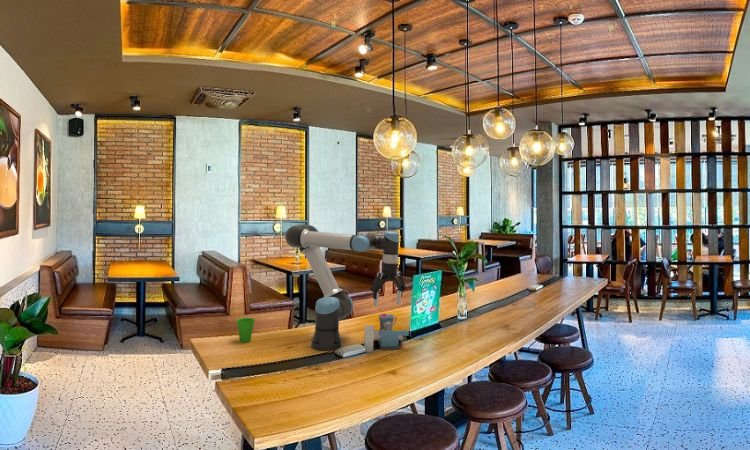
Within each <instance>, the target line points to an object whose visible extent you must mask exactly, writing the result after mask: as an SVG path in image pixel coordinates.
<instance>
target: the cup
mask: <svg viewBox="0 0 750 450" xmlns="http://www.w3.org/2000/svg"><path fill="white" fill-rule="evenodd" d="M255 321H256V319H255V318H254V317H242V318H241V317H239V318H237V319H236V324H237V331H238V337H239V342H240V343H242V344H246V343H250V342H251V340H252V335H253V329H254V323H255Z"/></svg>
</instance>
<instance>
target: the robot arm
mask: <svg viewBox="0 0 750 450" xmlns="http://www.w3.org/2000/svg"><path fill="white" fill-rule="evenodd" d="M284 238H285V241H286V243H287V245H288V246H290V247H291V248H295V249H296V248H297V249H298V250H299V251H300V253H301V254H302V255H304V256H305V258H306V259H307V262H308V264H309V266H310V268H311V270H312V273H313V275H314V276H315V278H316V281H317V283H318V285H319V287H320V289H321V291H322V294H323V297H321V298H319V299H317V301H316V302H315V307H314V308H315V309H314V310H315V315H314V316H315V321H314V324H315V326H314V333H313V336H312V338H311V343H310V345H311V346H310V347H311V348H313V349H315V350H319V351H333V350H334V351H335V350H338V349H337V348H339V349H340V348H342V345H343V340H342V337H341V334H340V331H339V330H340V329H339V325H340V324H339V323H340V321H341V320H343V319H345V318H347V317H349V316H350V314H352V312H353V309H354V302H353V300H352V298H351V297H350V296H349V295H347V294H346V293H345V291H344V289H342V288H340V287H339V284H338V283H337V281H336V278H335V277H334V274H333V273H332V270H331V268H330V267H329V264H328V262H327V260H326V258H325V256H324V254H323V252H322V250H321V248H325V249H327V248H328V249H338V250H346V251H347V250H348V251H349V250H350V251H355V252H359V253H361V252H362V253H363V252H365V251H370V250H378V251H379V250H380V251H382V264H381V265H382V266H381V267H382V272H376V274H375V278H374V280H373V282H372V285H371V286H370V289H369V291H370V292H372V293H373V295H372V299H374V301H373V305H374V306H376V307H378V306H379V301H380V300H379V295H380V293H379V291H380V289H381V288H382V287H383V286H384V285H385V283H386V282H393V283H394V285H395V287H396V288H397V289H398V290H397V293H396V304H399V305H402V298H403V293H404V291H405V290H406V289H407V286H406V283H405V280H404V278H403V272H402V271H398V261H399V259H398V258H399V243H400V234H399V233H398V231H391V230H390V231H384V234H374V233H362V234H361V235H360V234H348V233H336V232H334V233H333V232H323V231H319V229H318V228H317V227H316V226H314V225H312V224H301V225H299V224H298V225H297V224H296V225H292V226H290V227H288V229H287V230H286V231H285V235H284Z"/></svg>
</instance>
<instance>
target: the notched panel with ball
mask: <svg viewBox="0 0 750 450" xmlns="http://www.w3.org/2000/svg"><path fill="white" fill-rule="evenodd" d="M392 325H393V324H392V322H384V330H380V329H379V330H376V329H375V330H374V336H373V338H374V340H375V341H377V342H378V345H379V350H383V351H384V350H386V351H387V350H388V351H390V350H391V351H392V350H394V351H399V349H400V346H399V341H404V337H403V336H410V335H409V334H410V331H409V330H406V329H405V330H403V329H402V330H401V329H400V330H399V329H398V330H392V329H393V326H392Z"/></svg>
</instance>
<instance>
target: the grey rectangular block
mask: <svg viewBox="0 0 750 450" xmlns="http://www.w3.org/2000/svg"><path fill="white" fill-rule="evenodd" d="M374 329H375V327H374V325H370V324H369V325H366V324H365V325H364V340H363V341H364V345H363V346H364V347H363V349H364V348H365V351H366V352H365V351H364V352H365V353H374Z"/></svg>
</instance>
